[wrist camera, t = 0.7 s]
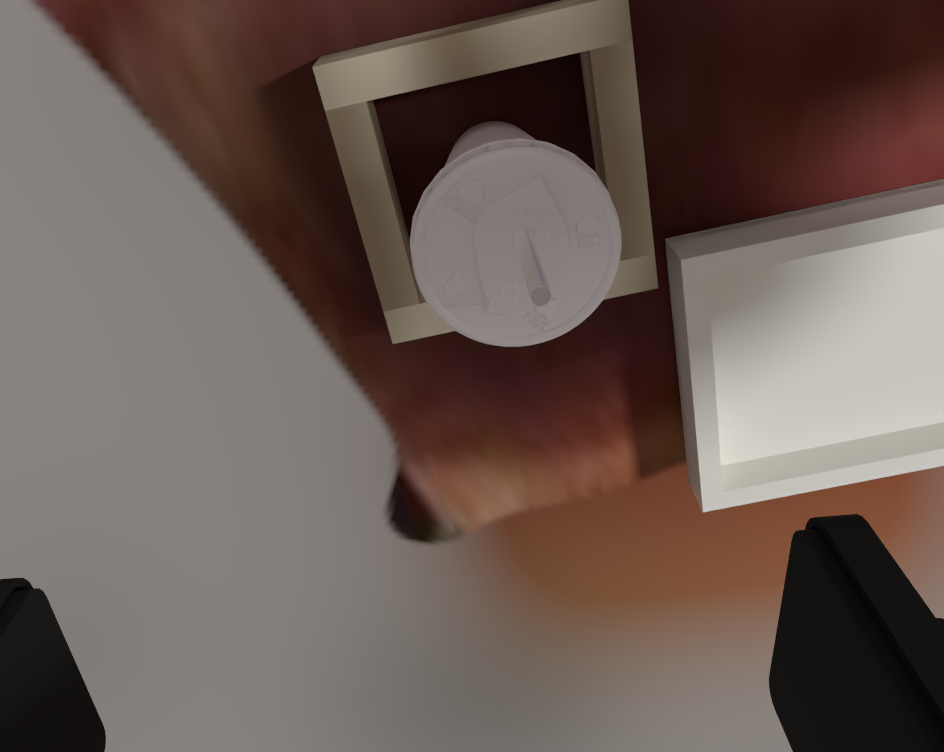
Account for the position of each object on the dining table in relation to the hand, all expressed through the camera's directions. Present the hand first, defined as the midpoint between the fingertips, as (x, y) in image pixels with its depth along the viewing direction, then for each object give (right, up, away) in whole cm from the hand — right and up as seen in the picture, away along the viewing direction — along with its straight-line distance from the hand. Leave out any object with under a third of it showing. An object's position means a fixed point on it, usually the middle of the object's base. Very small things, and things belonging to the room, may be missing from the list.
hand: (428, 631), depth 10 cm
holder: (+1, +12, +22) cm, 25 cm away
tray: (+18, +5, +27) cm, 33 cm away
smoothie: (+1, +12, +22) cm, 25 cm away
